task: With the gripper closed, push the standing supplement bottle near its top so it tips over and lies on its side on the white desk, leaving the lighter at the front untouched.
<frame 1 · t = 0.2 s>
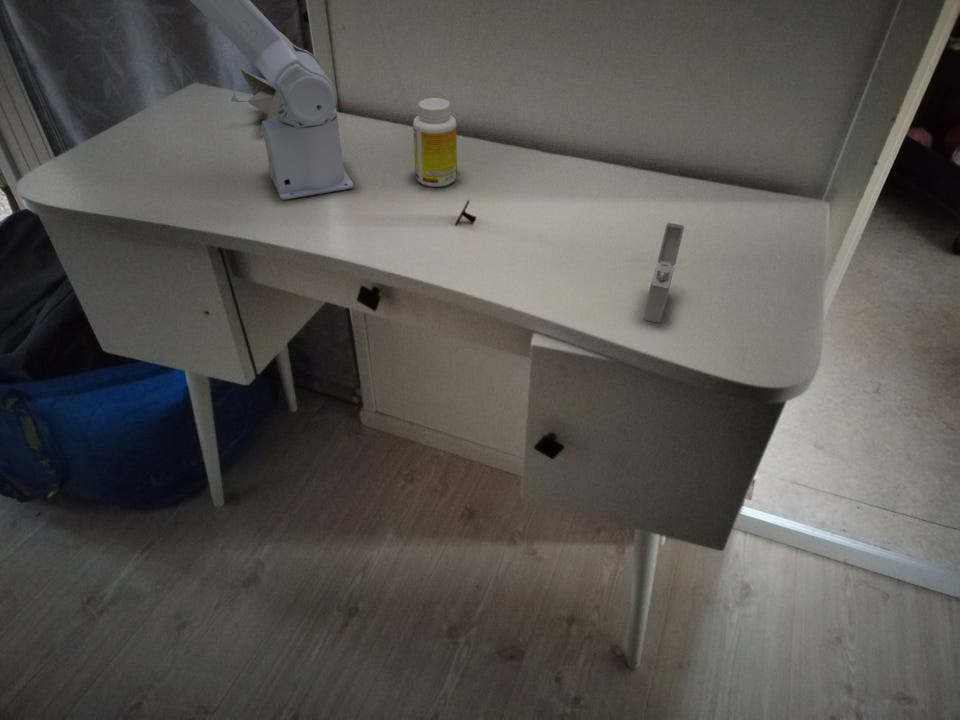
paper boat: (265, 121, 109), on the table
supplement bottle: (436, 180, 95), on the table
lighter: (657, 303, 74), on the table
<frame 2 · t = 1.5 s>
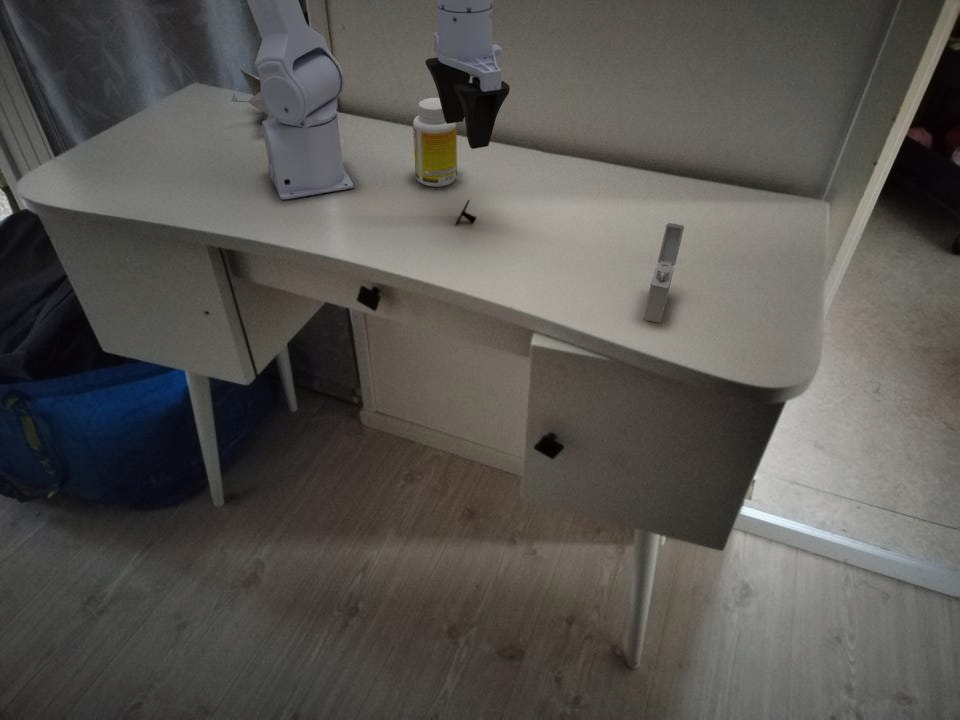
hand: (466, 133, 81), 10 cm above the table, tool pointing down, fingers open, 7 cm apart
nothing on the table moved.
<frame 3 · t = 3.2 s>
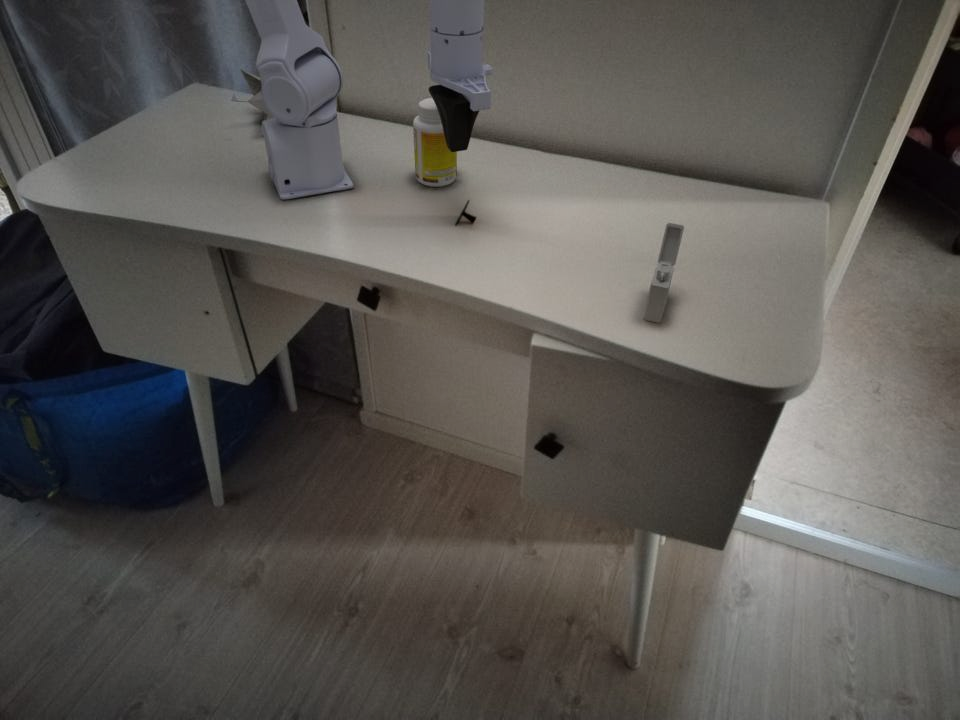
hand: (457, 148, 84), 8 cm above the table, tool pointing down, fingers closed
nothing on the table moved.
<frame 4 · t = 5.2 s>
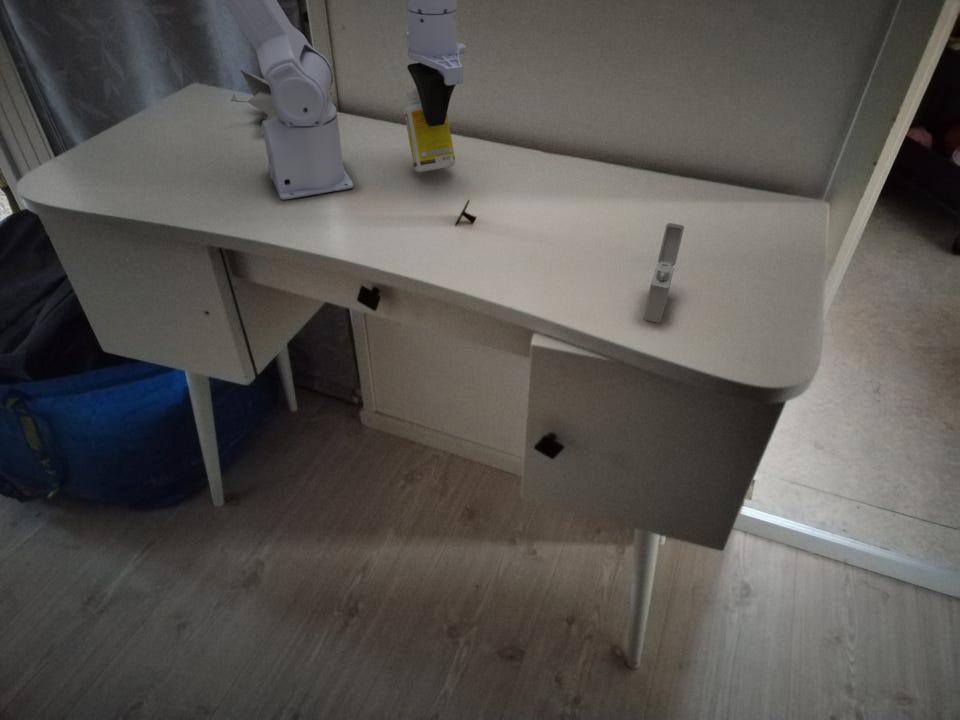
hand: (435, 123, 90), 8 cm above the table, tool pointing down, fingers closed
supplement bottle: (435, 171, 94), point 1 cm above the table, touching gripper
everything else where it was.
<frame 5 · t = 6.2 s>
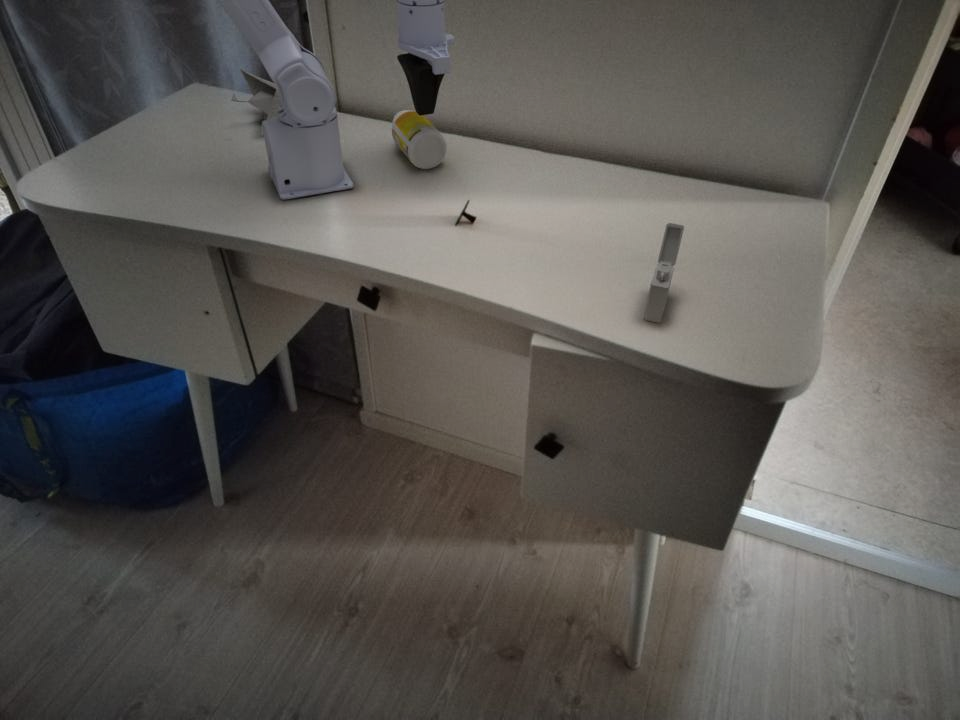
hand: (424, 112, 93), 8 cm above the table, tool pointing down, fingers closed
supplement bottle: (429, 152, 95), point 3 cm above the table
everything else where it was.
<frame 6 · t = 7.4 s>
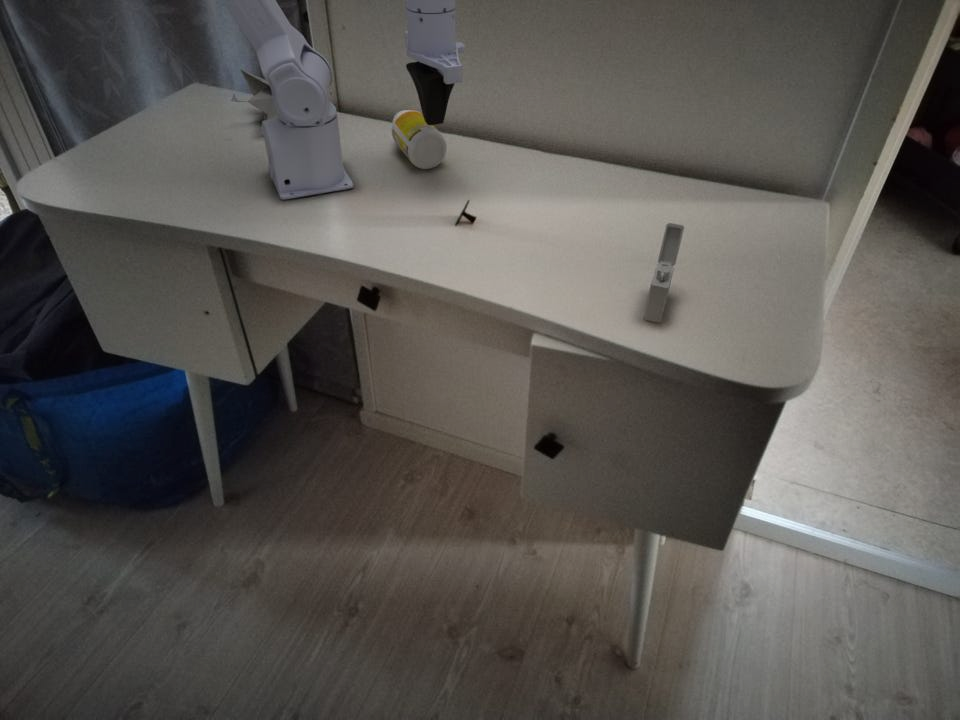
hand: (434, 122, 90), 8 cm above the table, tool pointing down, fingers closed
nothing on the table moved.
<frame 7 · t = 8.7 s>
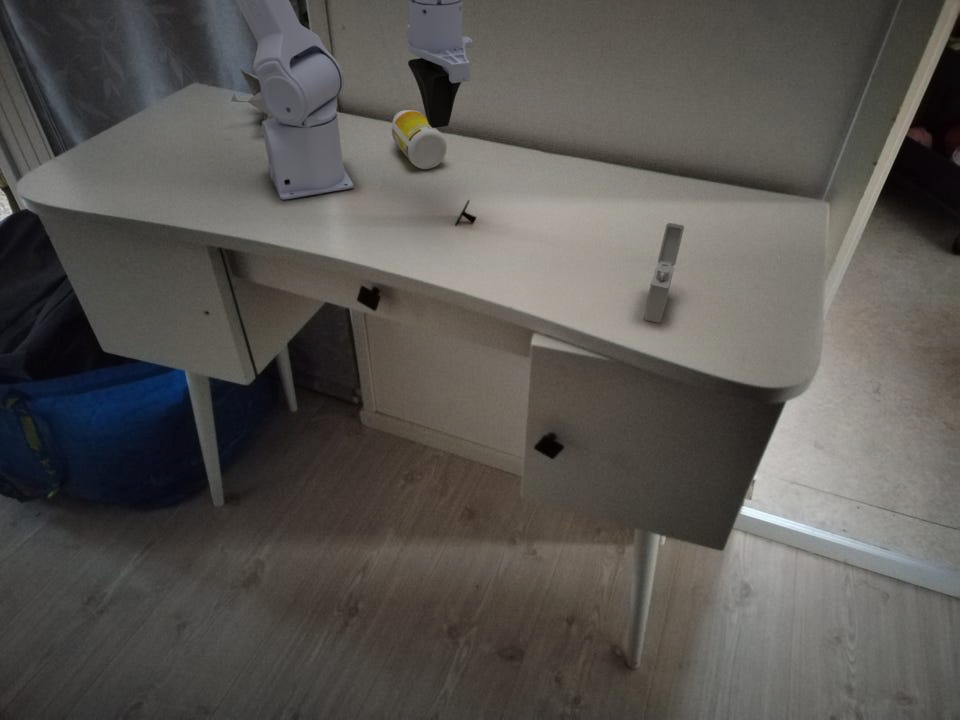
hand: (438, 125, 83), 10 cm above the table, tool pointing down, fingers closed
nothing on the table moved.
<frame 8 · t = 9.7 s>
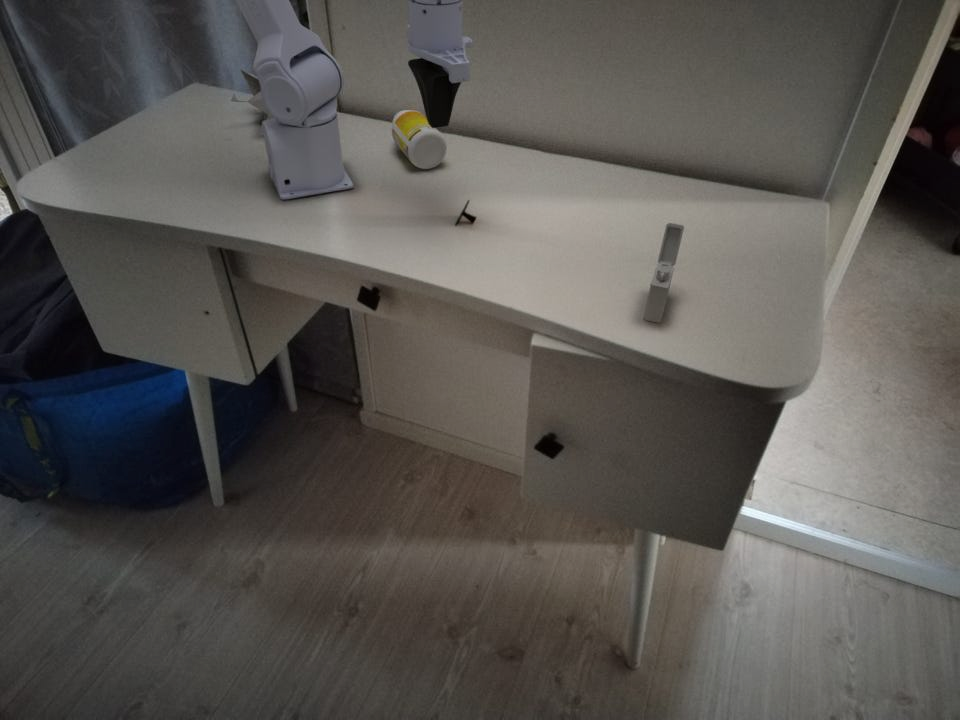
hand: (438, 125, 83), 10 cm above the table, tool pointing down, fingers closed
nothing on the table moved.
at the end: supplement bottle tilted 90°; supplement bottle moved 3.7 cm from its start; lighter moved 0.2 cm from its start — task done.
